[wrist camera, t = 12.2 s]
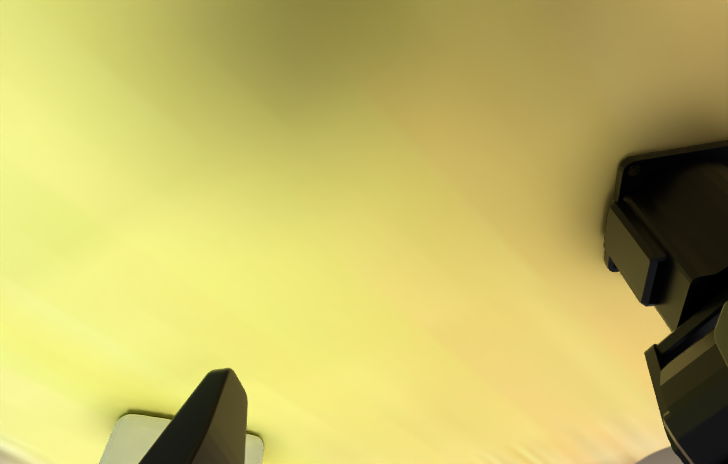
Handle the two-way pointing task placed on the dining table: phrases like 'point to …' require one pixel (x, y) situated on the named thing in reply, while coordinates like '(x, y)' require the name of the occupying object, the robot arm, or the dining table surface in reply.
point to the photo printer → (141, 433)
